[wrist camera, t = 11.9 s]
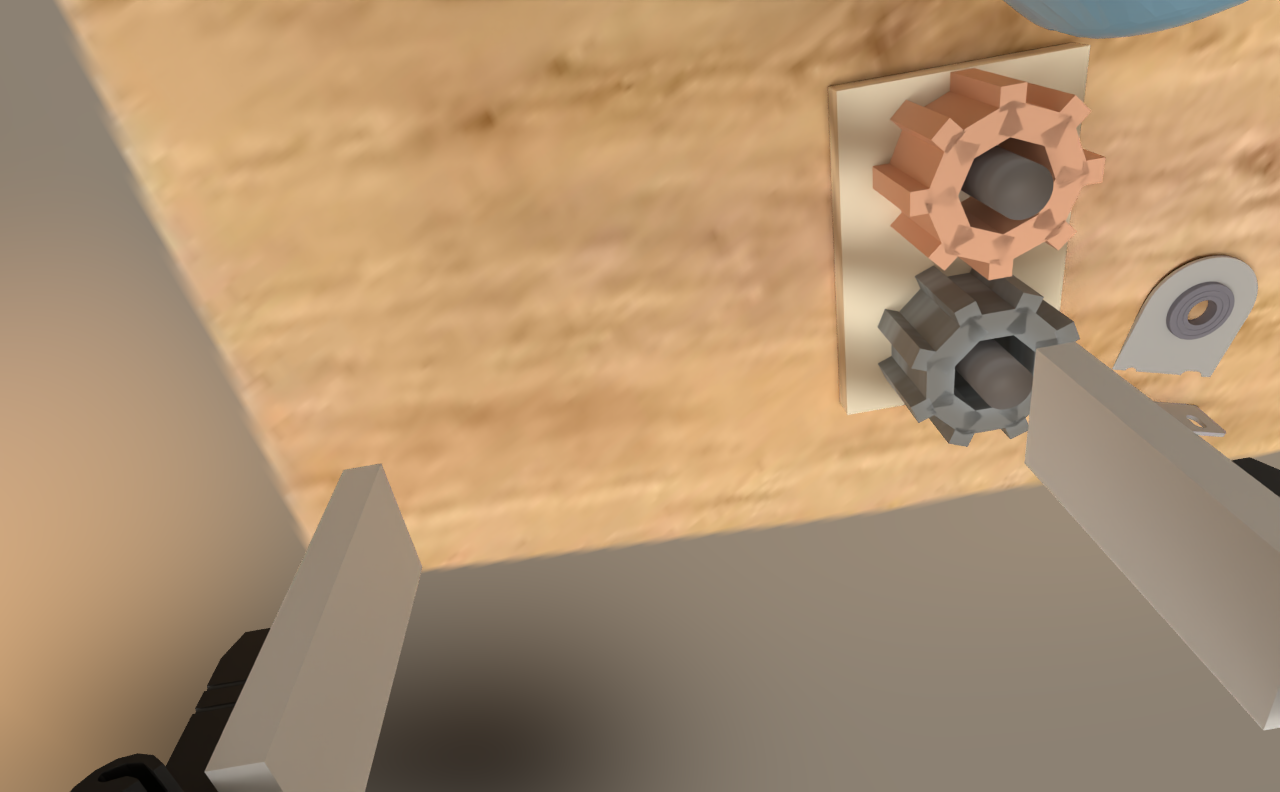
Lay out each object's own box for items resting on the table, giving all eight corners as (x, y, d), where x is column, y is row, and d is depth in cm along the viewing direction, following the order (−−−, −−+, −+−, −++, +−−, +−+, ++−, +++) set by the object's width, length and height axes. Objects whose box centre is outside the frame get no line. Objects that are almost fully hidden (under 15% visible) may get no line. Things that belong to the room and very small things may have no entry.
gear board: (827, 87, 38) (884, 114, 31) (1072, 42, 38) (1185, 60, 31) (839, 402, 47) (885, 479, 40) (1038, 367, 46) (1119, 438, 40)
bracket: (1267, 256, 44) (1317, 278, 41) (1187, 408, 49) (1226, 437, 46) (1163, 245, 44) (1206, 267, 41) (1091, 401, 49) (1125, 430, 46)
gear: (848, 135, 38) (883, 157, 33) (1011, 34, 36) (1071, 44, 32) (911, 272, 41) (951, 309, 37) (1062, 187, 40) (1122, 215, 35)
